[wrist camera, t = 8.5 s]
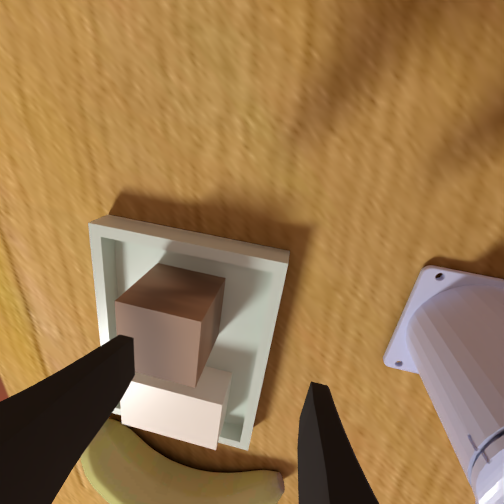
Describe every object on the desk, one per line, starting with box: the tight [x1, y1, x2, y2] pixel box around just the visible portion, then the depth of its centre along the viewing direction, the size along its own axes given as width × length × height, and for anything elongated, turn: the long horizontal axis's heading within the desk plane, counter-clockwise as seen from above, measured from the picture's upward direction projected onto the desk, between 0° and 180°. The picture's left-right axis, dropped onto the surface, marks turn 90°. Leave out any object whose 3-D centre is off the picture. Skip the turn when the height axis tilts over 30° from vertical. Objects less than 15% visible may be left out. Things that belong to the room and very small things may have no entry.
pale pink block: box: [120, 366, 232, 450], centre depth 23 cm, size 8×5×3 cm, turn 82°
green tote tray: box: [88, 215, 290, 451], centre depth 22 cm, size 13×18×2 cm
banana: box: [81, 418, 284, 504], centre depth 28 cm, size 14×6×20 cm
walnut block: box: [115, 263, 226, 388], centre depth 19 cm, size 5×5×5 cm
